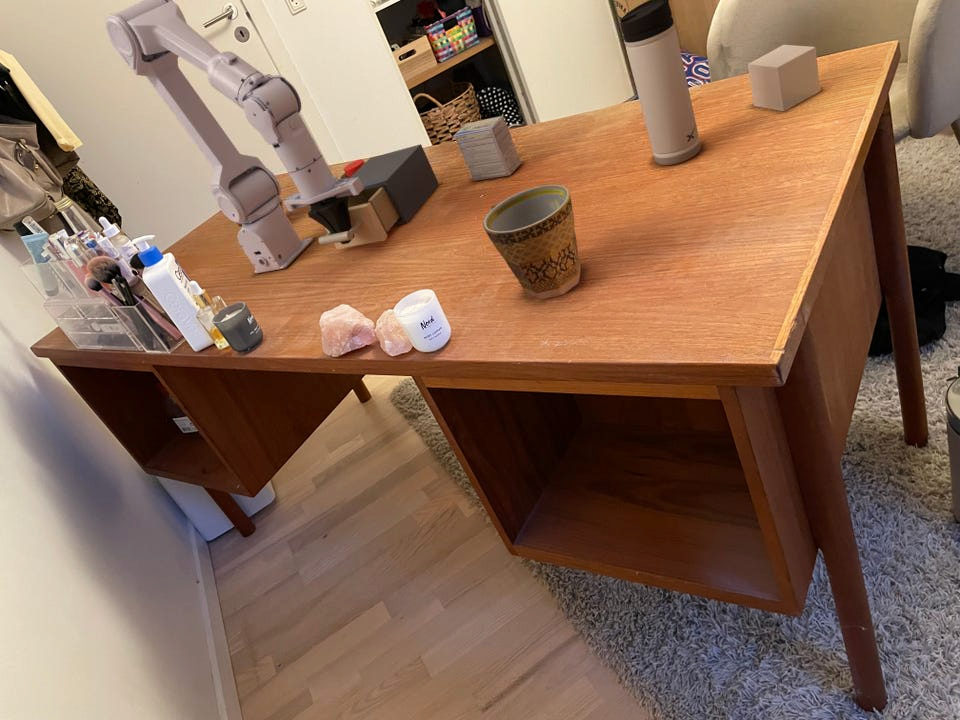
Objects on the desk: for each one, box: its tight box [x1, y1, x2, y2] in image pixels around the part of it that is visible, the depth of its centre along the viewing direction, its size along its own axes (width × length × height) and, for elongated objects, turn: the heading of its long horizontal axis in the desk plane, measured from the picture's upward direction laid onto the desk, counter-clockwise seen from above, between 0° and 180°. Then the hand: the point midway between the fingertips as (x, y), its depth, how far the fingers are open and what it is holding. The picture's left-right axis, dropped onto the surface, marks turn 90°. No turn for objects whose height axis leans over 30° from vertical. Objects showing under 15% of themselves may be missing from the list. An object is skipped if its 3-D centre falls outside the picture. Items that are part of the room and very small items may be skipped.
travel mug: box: [619, 0, 702, 166], centre depth 89 cm, size 6×7×20 cm
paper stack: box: [453, 115, 522, 182], centre depth 114 cm, size 8×4×9 cm, turn 58°
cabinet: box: [349, 143, 440, 227], centre depth 119 cm, size 13×11×8 cm
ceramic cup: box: [482, 184, 582, 300], centre depth 78 cm, size 13×10×10 cm
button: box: [343, 159, 366, 177], centre depth 138 cm, size 4×4×2 cm
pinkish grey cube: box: [747, 44, 821, 112], centre depth 93 cm, size 6×6×6 cm
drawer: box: [318, 185, 400, 250], centre depth 113 cm, size 17×10×6 cm, turn 157°
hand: (348, 240), depth 109 cm, fingers closed, pressing on drawer
